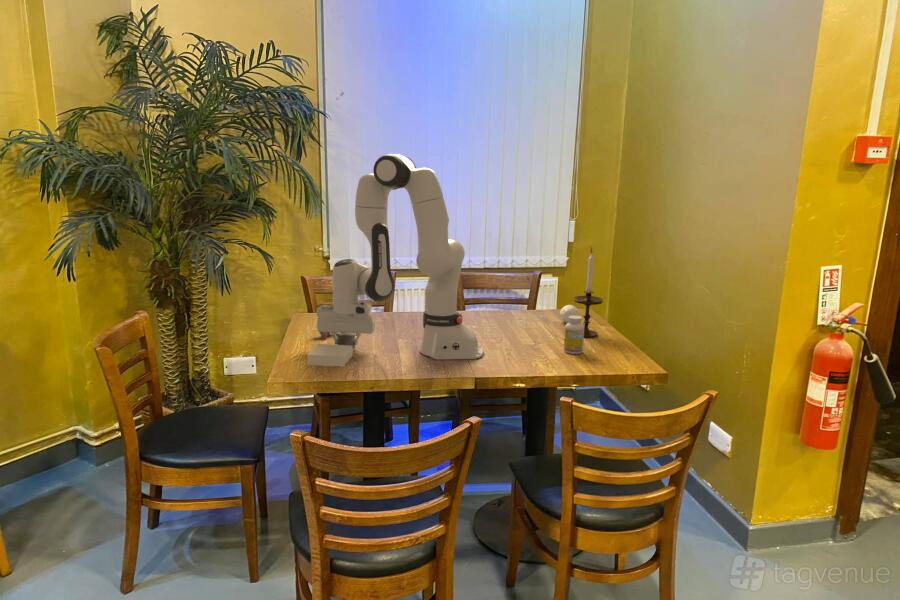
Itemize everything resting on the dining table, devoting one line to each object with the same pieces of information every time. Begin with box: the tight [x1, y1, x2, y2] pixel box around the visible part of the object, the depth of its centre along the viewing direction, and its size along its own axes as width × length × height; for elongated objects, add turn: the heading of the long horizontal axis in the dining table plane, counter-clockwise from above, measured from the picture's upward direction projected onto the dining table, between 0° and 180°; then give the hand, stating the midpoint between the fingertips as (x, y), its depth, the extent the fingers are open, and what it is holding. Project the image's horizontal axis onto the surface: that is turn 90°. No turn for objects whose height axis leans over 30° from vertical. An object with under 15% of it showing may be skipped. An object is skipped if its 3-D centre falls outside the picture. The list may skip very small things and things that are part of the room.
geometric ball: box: [559, 304, 580, 324], centre depth 264 cm, size 8×8×8 cm
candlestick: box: [573, 246, 603, 339], centre depth 244 cm, size 11×11×35 cm
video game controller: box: [318, 331, 331, 340], centre depth 240 cm, size 10×5×7 cm, turn 135°
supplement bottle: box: [563, 315, 585, 355], centre depth 225 cm, size 7×7×13 cm
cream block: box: [306, 343, 354, 368], centre depth 212 cm, size 12×12×4 cm
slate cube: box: [336, 332, 356, 350], centre depth 224 cm, size 5×5×5 cm
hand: (346, 344), depth 224 cm, fingers closed on slate cube, 5 cm apart
